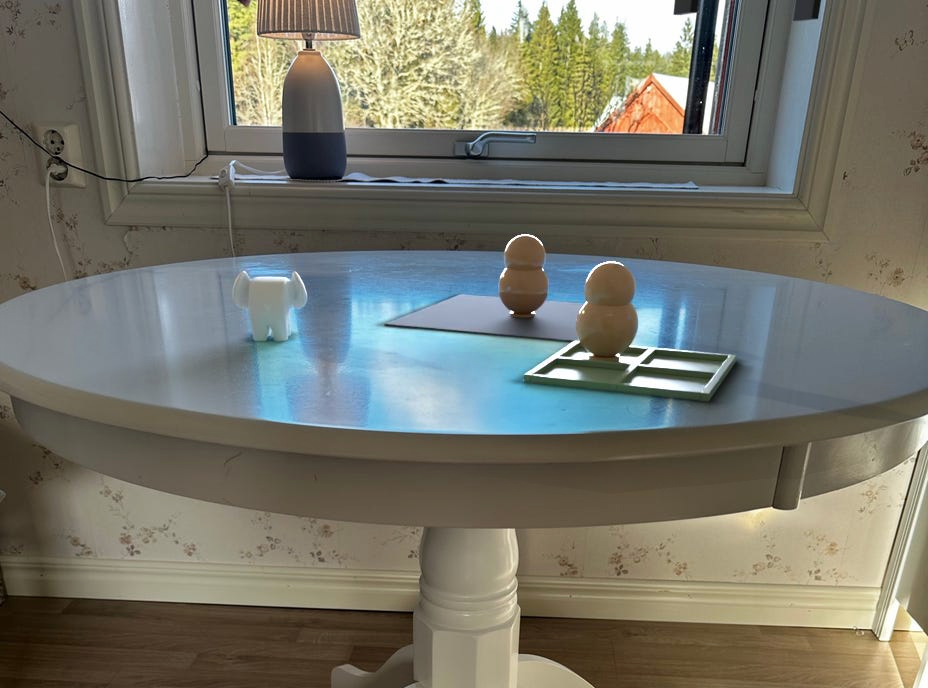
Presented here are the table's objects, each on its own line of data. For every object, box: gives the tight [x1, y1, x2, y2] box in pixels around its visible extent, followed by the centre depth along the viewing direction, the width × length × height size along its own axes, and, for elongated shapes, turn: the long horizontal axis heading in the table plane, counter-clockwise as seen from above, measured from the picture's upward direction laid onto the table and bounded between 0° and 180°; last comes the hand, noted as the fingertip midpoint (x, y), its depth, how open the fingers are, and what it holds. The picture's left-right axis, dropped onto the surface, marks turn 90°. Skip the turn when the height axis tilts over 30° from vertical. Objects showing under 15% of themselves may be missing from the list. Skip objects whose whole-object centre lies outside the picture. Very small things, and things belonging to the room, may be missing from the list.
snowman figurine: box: [576, 261, 639, 361], centre depth 79 cm, size 5×5×8 cm
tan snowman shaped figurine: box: [497, 234, 550, 318], centre depth 96 cm, size 5×5×8 cm
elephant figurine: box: [231, 270, 308, 342], centre depth 88 cm, size 7×8×6 cm
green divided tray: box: [522, 341, 738, 402], centre depth 77 cm, size 14×14×1 cm
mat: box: [383, 293, 585, 343], centre depth 99 cm, size 20×20×1 cm
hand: (746, 17), depth 89 cm, fingers open, 13 cm apart
